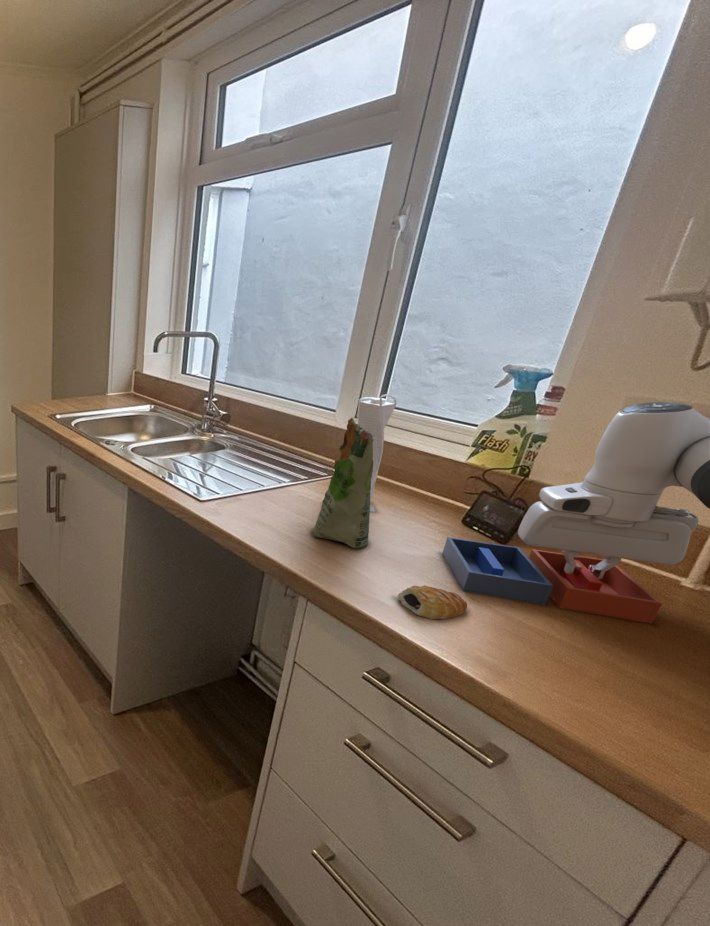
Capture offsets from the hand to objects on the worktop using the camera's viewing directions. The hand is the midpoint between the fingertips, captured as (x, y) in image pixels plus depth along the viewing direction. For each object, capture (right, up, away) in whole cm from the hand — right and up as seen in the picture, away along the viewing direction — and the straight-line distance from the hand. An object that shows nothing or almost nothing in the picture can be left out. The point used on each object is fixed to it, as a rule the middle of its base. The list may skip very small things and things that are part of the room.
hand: (582, 575), depth 91 cm
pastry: (-30, -5, -4) cm, 31 cm away
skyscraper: (-18, +12, +36) cm, 42 cm away
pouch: (-31, +5, +20) cm, 38 cm away
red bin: (-1, -3, -1) cm, 3 cm away
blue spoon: (-13, -1, +4) cm, 13 cm away
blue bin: (-13, -1, +4) cm, 13 cm away
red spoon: (-1, -3, -1) cm, 3 cm away
